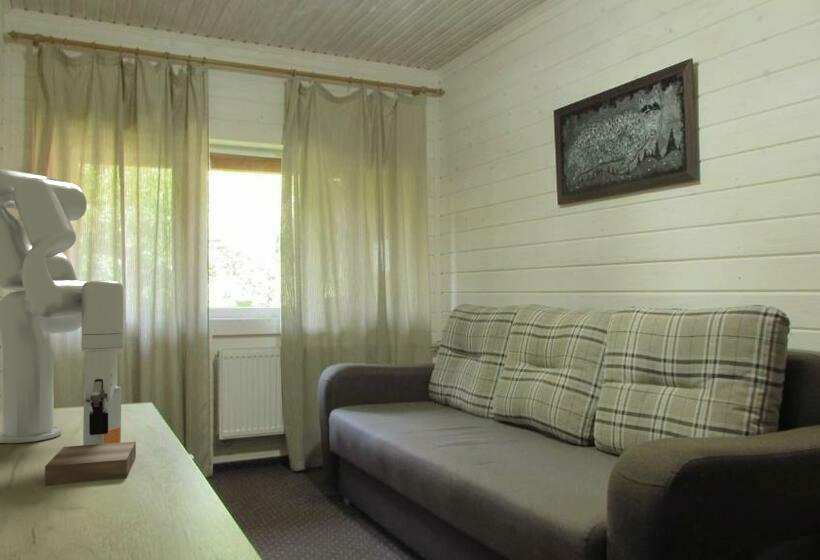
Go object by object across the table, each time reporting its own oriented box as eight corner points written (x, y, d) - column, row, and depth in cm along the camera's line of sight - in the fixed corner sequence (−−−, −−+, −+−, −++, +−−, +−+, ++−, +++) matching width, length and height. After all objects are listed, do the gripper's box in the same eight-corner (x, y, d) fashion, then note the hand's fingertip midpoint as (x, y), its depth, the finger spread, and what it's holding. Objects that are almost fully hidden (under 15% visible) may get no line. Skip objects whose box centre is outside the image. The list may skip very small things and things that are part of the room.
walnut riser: (63, 463, 115) (63, 446, 115) (135, 457, 118) (135, 441, 118) (44, 485, 101) (45, 466, 101) (126, 477, 105) (126, 459, 105)
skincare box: (101, 452, 122) (101, 390, 123) (82, 452, 123) (82, 390, 124) (122, 445, 128) (122, 386, 129) (103, 444, 129) (103, 385, 130)
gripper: (89, 340, 133) (89, 422, 133) (73, 346, 117) (73, 440, 116) (128, 339, 136) (128, 419, 135) (117, 345, 119) (117, 436, 119)
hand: (102, 429), depth 126 cm, fingers open, 9 cm apart
